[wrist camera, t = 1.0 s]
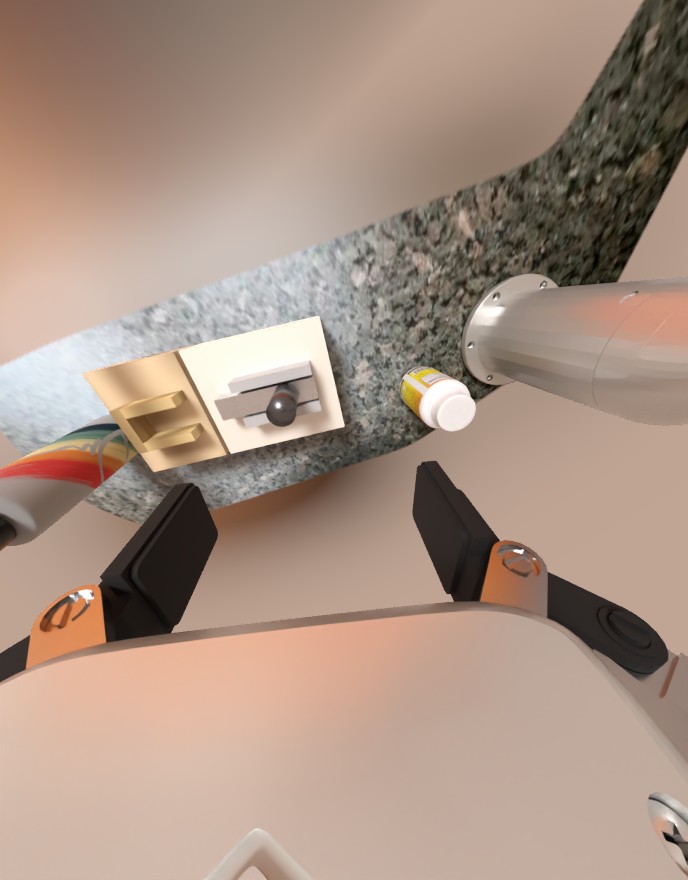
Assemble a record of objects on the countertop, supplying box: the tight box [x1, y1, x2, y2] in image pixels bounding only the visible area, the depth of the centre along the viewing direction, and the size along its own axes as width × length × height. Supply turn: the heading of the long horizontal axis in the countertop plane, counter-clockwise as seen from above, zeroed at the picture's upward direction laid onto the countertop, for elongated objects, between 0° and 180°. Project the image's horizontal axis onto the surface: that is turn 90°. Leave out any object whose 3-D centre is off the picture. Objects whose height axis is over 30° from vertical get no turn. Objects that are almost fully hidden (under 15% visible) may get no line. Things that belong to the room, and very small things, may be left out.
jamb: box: [83, 345, 229, 472], centre depth 28 cm, size 9×12×7 cm
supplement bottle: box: [399, 366, 476, 431], centre depth 29 cm, size 6×6×10 cm
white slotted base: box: [178, 316, 345, 454], centre depth 28 cm, size 14×12×7 cm
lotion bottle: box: [0, 414, 138, 551], centre depth 23 cm, size 6×6×20 cm
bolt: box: [214, 373, 319, 427], centre depth 23 cm, size 10×2×7 cm, turn 102°
